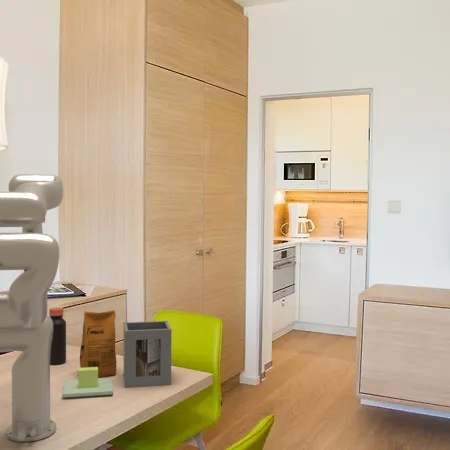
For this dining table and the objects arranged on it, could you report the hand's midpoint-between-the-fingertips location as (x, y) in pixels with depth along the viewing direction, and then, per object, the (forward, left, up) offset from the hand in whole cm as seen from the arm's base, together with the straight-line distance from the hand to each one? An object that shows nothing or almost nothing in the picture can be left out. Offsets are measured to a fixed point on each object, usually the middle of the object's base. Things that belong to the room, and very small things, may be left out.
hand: (32, 275), depth 167 cm
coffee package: (+23, -19, -38) cm, 49 cm away
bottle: (+38, -4, -38) cm, 54 cm away
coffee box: (+13, -35, -38) cm, 53 cm away
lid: (+6, -16, -39) cm, 42 cm away
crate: (+13, -35, -38) cm, 53 cm away
